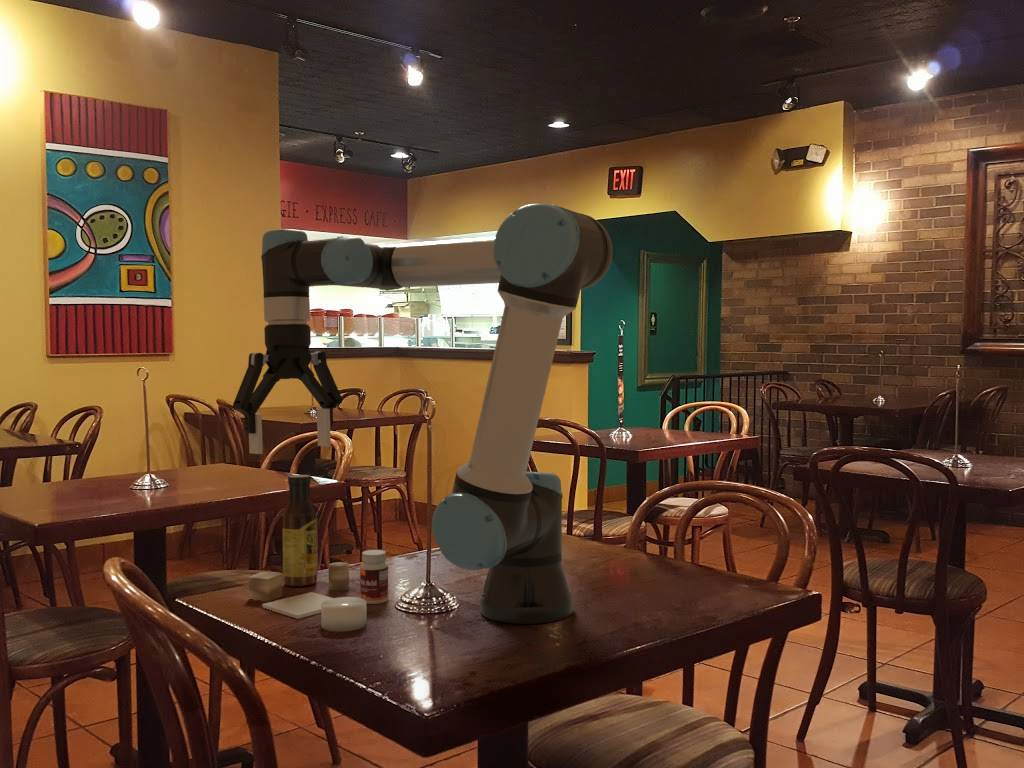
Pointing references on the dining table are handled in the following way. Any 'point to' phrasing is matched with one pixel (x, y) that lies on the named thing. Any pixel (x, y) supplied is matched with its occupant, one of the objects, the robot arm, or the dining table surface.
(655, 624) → the dining table surface
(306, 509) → the sauce bottle
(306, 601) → the tile
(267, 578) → the beech block
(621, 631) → the dining table surface
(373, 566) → the pill bottle
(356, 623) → the white squat cylinder
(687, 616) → the dining table surface
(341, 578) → the cork
